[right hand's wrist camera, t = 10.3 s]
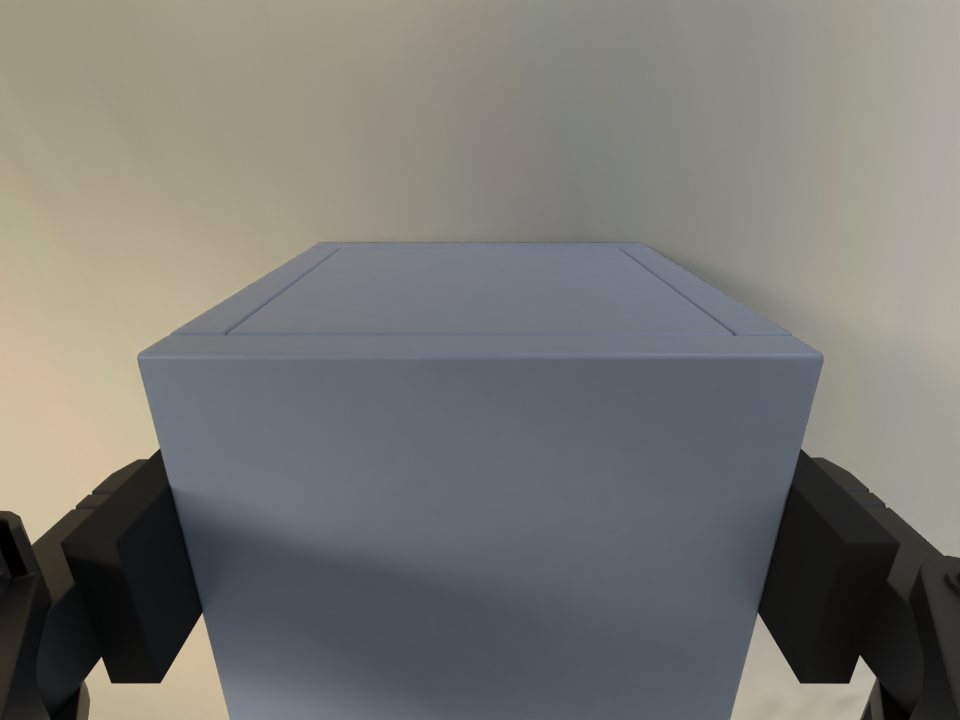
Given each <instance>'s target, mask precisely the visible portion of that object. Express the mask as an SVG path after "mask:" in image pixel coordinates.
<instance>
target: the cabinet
mask: <svg viewBox="0 0 960 720" xmlns="http://www.w3.org/2000/svg"><path fill="white" fill-rule="evenodd" d="M137 360H138V364H139V368H140V372H141V375H142V379H143V383H144V387H145V391H146V395H147V399H148V403H149V407H150V410H151V414H152V418H153V422H154V426H155V430H156V434H157V438H158V441H159V445H160V449H161V453H162V457H163V461H164V465H165V469H166V472H167V476H168V480H169V484H170V488H171V492H172V496H173V500H174V503H175V507H176V511H177V515H178V519H179V523H180V527H181V531H182V535H183V538H184V542H185V546H186V550H187V554H188V558H189V562H190V566H191V569H192V573H193V577H194V581H195V585H196V589H197V593H198V597H199V600H200V604H201V608H202V612H203V616H204V620H205V624H206V628H207V631H208V635H209V639H210V643H211V647H212V651H213V655H214V659H215V662H216V666H217V670H218V674H219V678H220V682H221V686H222V690H223V694H224V697H225V701H226V705H227V709H228V713H229V717H230V720H730V717H731V714H732V710H733V706H734V702H735V698H736V694H737V690H738V687H739V683H740V679H741V675H742V671H743V667H744V664H745V660H746V656H747V652H748V648H749V644H750V641H751V637H752V633H753V629H754V625H755V621H756V617H757V614H758V610H759V606H760V602H761V598H762V594H763V591H764V587H765V583H766V579H767V575H768V571H769V568H770V564H771V560H772V556H773V552H774V548H775V544H776V541H777V537H778V533H779V529H780V525H781V521H782V518H783V514H784V510H785V506H786V502H787V498H788V495H789V491H790V487H791V483H792V479H793V475H794V471H795V468H796V464H797V460H798V456H799V452H800V448H801V445H802V441H803V437H804V433H805V429H806V425H807V422H808V418H809V414H810V410H811V406H812V402H813V398H814V395H815V391H816V387H817V383H818V379H819V375H820V372H821V368H822V364H823V360H824V359H823V355H822V353H820V352H818V351H817V350H815V349H813V348H812V347H810V346H809V345H807V344H805V343H804V342H802V341H800V340H799V339H797V338H795V337H793V336H792V334H791V333H789V332H788V331H786V330H784V329H783V328H781V327H779V326H778V325H776V324H775V323H773V322H771V321H770V320H768V319H766V318H765V317H763V316H761V315H760V314H758V313H756V312H755V311H753V310H751V309H750V308H748V307H746V306H745V305H743V304H741V303H740V302H738V301H737V300H735V299H733V298H732V297H730V296H728V295H727V294H725V293H723V292H722V291H720V290H718V289H717V288H715V287H713V286H712V285H710V284H708V283H707V282H705V281H704V280H702V279H700V278H699V277H697V276H695V275H694V274H692V273H690V272H689V271H687V270H685V269H684V268H682V267H680V266H679V265H677V264H675V263H674V262H672V261H670V260H669V259H667V258H666V257H664V256H662V255H661V254H659V253H657V252H656V251H654V250H652V249H651V248H649V247H647V246H646V245H644V244H642V243H318V244H316V245H314V246H313V247H311V248H310V249H308V250H307V251H305V252H303V253H302V254H300V255H298V256H297V257H295V258H293V259H292V260H290V261H289V262H287V263H285V264H284V265H282V266H280V267H279V268H277V269H275V270H274V271H272V272H270V273H269V274H267V275H266V276H264V277H262V278H261V279H259V280H257V281H256V282H254V283H252V284H251V285H249V286H247V287H246V288H244V289H243V290H241V291H239V292H238V293H236V294H234V295H233V296H231V297H229V298H228V299H226V300H224V301H223V302H221V303H220V304H218V305H216V306H215V307H213V308H211V309H210V310H208V311H206V312H205V313H203V314H201V315H200V316H198V317H197V318H195V319H193V320H192V321H190V322H188V323H187V324H185V325H183V326H182V327H180V328H178V329H177V330H175V331H174V332H172V333H171V334H170V335H169V336H167V337H165V338H163V339H162V340H160V341H158V342H157V343H155V344H153V345H152V346H150V347H148V348H147V349H145V350H144V351H142V352H140V353H139V354H138V358H137Z"/></svg>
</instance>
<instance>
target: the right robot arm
mask: <svg viewBox="0 0 960 720" xmlns="http://www.w3.org/2000/svg"><path fill="white" fill-rule="evenodd" d="M758 613H759V615H760V616H761V618H762V620H763V621H764V623H765V625H766V627H767V628H768V630H769V632H770V633H771V635H772V637H773V638H774V640H775V642H776V643H777V645H778V647H779V648H780V650H781V652H782V653H783V655H784V657H785V659H786V660H787V662H788V664H789V665H790V667H791V669H792V670H793V672H794V674H795V675H796V677H797V679H798V680H799V682H800V683H825V684H849V682H850V680H851V677H852V674H853V672H854V669H855V666H856V663H857V661H858V658H859V655H860V656H861V657H862V658H863V660H864V661H865V662H866V664H867V665H868V666H869V668H870V669H871V670H872V672H873V673H874V674H875V676H876V677H877V678H876V681H875V683H874V686H873V688H872V691H871V693H870V696H869V699H868V701H867V704H866V706H865V709H864V711H863V714H862V716H861V719H860V720H960V558H957V557H952V556H944V555H942V554H941V553H940V552H939V551H938V550H937V549H936V548H934V547H933V546H932V545H931V544H930V543H929V542H928V541H927V540H925V539H924V538H923V537H922V536H921V535H920V534H919V533H918V532H916V531H915V530H914V529H913V528H912V527H911V526H910V525H909V524H907V523H906V522H905V521H904V520H903V519H902V518H901V517H899V516H898V515H897V514H896V513H895V512H894V511H893V510H892V509H890V508H886V507H885V503H884V502H883V501H881V500H880V499H879V498H878V497H877V496H876V495H875V494H874V493H869V489H868V488H867V487H866V486H864V485H863V484H862V483H861V482H860V481H859V480H858V479H857V478H855V477H854V476H853V475H852V474H851V473H850V472H848V471H846V470H844V469H843V468H841V467H839V466H837V465H835V464H833V463H832V462H830V461H828V460H826V459H824V458H810V457H809V456H808V455H807V454H806V453H805V452H804V451H803V450H802V449H801V448H800V452H799V456H798V460H797V464H796V468H795V471H794V475H793V479H792V483H791V487H790V491H789V495H788V498H787V502H786V506H785V510H784V514H783V518H782V521H781V525H780V529H779V533H778V537H777V541H776V544H775V548H774V552H773V556H772V560H771V564H770V568H769V571H768V575H767V579H766V583H765V587H764V591H763V594H762V598H761V602H760V606H759V610H758ZM201 614H202V608H201V604H200V600H199V597H198V593H197V589H196V585H195V581H194V577H193V573H192V569H191V566H190V562H189V558H188V554H187V550H186V546H185V542H184V538H183V535H182V531H181V527H180V523H179V519H178V515H177V511H176V507H175V503H174V500H173V496H172V492H171V488H170V484H169V480H168V476H167V472H166V469H165V465H164V461H163V457H162V453H161V449H159V450H158V451H157V452H156V453H155V454H154V455H153V456H151V457H150V458H149V459H138V460H136V461H135V462H133V463H131V464H129V465H127V466H125V467H124V468H122V469H120V470H118V471H116V472H114V473H113V474H111V475H110V476H109V477H108V478H107V479H106V480H104V481H103V482H102V483H101V484H100V485H99V486H98V487H97V488H95V489H94V490H93V491H92V495H88V496H86V497H85V498H84V499H83V500H82V501H81V502H80V503H79V504H78V505H76V509H75V510H71V511H70V512H69V513H67V514H66V515H65V516H64V517H63V518H62V519H61V520H60V521H58V522H57V523H56V524H55V525H54V526H53V527H52V528H51V529H50V530H48V531H47V532H46V533H45V534H44V535H43V536H42V537H41V538H39V539H38V540H37V541H36V542H35V543H34V544H33V545H32V546H31V543H30V541H29V538H28V536H27V533H26V531H25V528H24V525H23V523H22V520H21V518H20V516H18V515H16V514H14V513H12V512H11V511H0V720H88V715H89V706H90V698H89V693H88V688H87V686H86V683H85V681H84V680H85V678H86V677H87V676H88V674H89V673H90V672H91V670H92V669H93V667H94V666H95V665H96V663H97V662H98V661H99V659H100V658H101V657H102V659H103V661H104V664H105V667H106V670H107V672H108V675H109V678H110V680H111V683H161V681H162V680H163V678H164V676H165V675H166V673H167V671H168V670H169V668H170V666H171V665H172V663H173V661H174V659H175V658H176V656H177V654H178V653H179V651H180V649H181V648H182V646H183V644H184V643H185V641H186V639H187V638H188V636H189V634H190V633H191V631H192V629H193V627H194V626H195V624H196V622H197V621H198V619H199V617H200V616H201Z"/></svg>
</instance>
